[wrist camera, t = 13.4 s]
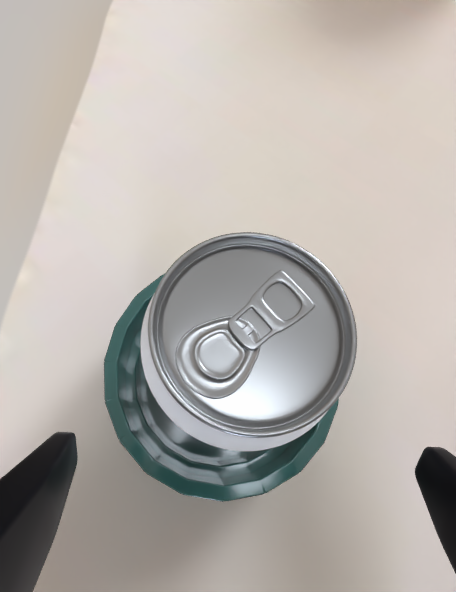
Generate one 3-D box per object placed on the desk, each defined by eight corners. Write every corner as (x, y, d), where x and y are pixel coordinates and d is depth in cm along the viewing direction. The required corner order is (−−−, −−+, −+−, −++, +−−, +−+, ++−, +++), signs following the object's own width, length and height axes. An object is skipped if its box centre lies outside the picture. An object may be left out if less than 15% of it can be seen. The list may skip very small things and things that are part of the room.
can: (140, 373, 20) (77, 306, 9) (223, 307, 22) (261, 183, 11) (211, 465, 18) (248, 527, 7) (293, 385, 20) (419, 338, 9)
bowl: (214, 531, 18) (223, 568, 13) (84, 374, 20) (52, 359, 15) (341, 381, 21) (383, 369, 17) (220, 263, 23) (228, 223, 19)
